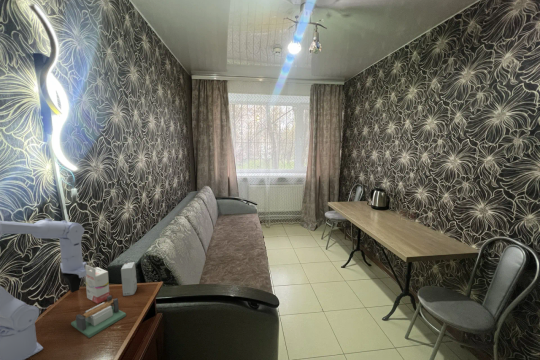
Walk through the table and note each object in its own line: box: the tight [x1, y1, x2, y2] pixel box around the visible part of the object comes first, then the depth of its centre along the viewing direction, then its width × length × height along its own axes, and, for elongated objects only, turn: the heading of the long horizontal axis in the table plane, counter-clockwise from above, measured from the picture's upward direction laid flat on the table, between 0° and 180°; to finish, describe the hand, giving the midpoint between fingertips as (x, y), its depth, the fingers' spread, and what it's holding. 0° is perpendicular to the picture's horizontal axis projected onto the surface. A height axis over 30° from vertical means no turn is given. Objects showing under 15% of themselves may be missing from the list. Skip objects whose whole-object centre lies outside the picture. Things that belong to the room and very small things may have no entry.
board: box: [70, 294, 127, 339], centre depth 84 cm, size 12×12×6 cm
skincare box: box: [120, 261, 138, 297], centre depth 102 cm, size 6×4×12 cm
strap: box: [82, 298, 115, 318], centre depth 85 cm, size 10×2×1 cm, turn 152°
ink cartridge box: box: [84, 264, 111, 305], centre depth 97 cm, size 9×5×15 cm, turn 62°
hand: (74, 290), depth 85 cm, fingers closed
